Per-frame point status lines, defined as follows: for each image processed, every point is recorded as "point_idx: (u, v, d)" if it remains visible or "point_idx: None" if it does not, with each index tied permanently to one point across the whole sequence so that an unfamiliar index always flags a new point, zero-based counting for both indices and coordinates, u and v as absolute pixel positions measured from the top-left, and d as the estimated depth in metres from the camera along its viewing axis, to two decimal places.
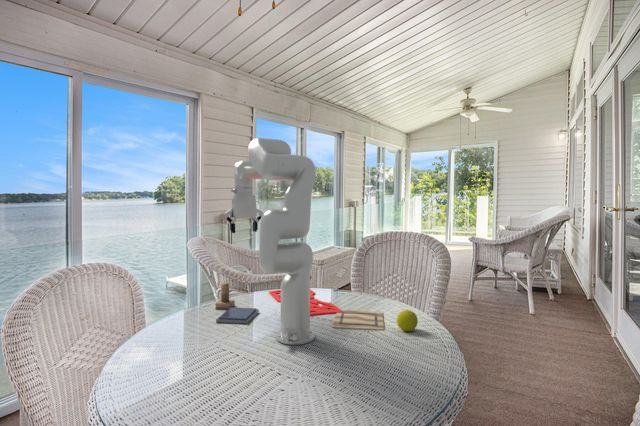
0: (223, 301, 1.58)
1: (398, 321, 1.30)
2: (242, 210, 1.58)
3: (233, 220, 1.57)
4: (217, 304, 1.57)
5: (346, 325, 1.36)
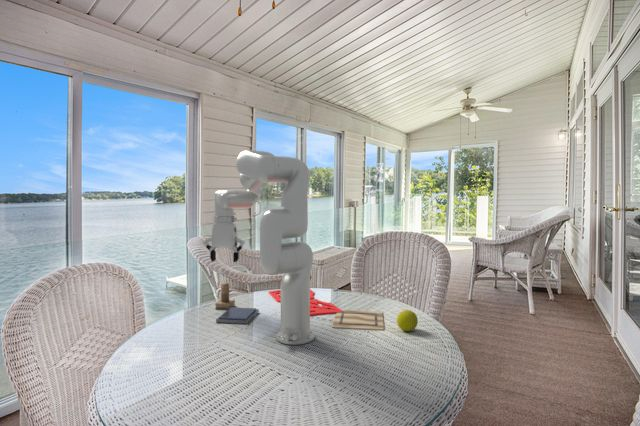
0: (223, 301, 1.58)
1: (398, 321, 1.30)
2: None
3: None
4: (217, 304, 1.57)
5: (346, 325, 1.36)
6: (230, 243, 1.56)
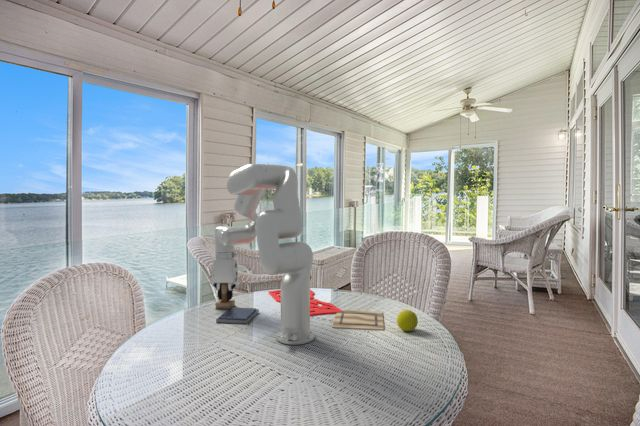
0: (223, 301, 1.58)
1: (398, 321, 1.30)
2: None
3: None
4: (217, 304, 1.57)
5: (346, 325, 1.36)
6: (231, 279, 1.56)
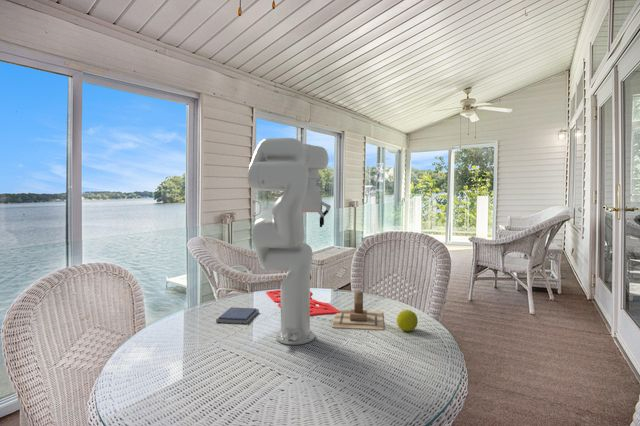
0: (358, 312, 1.41)
1: (398, 321, 1.30)
2: None
3: None
4: (352, 315, 1.40)
5: (346, 325, 1.36)
6: (316, 207, 1.48)
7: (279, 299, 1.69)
